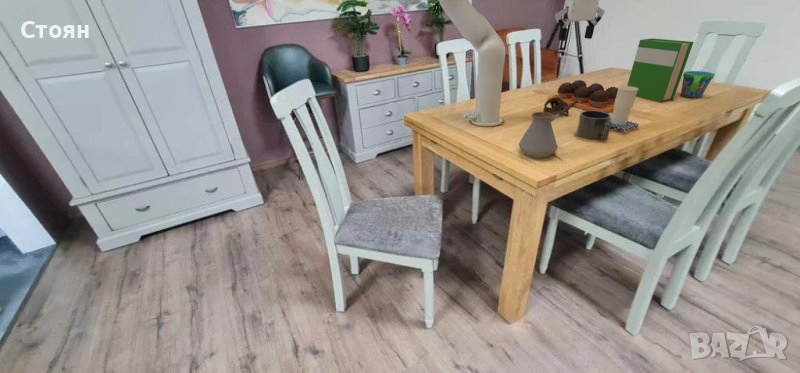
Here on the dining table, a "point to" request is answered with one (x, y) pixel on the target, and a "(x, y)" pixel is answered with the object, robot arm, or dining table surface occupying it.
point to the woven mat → (623, 126)
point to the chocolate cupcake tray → (588, 96)
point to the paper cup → (623, 104)
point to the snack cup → (695, 83)
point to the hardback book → (659, 68)
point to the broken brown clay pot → (555, 105)
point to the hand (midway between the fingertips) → (575, 39)
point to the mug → (593, 125)
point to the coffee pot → (541, 135)
